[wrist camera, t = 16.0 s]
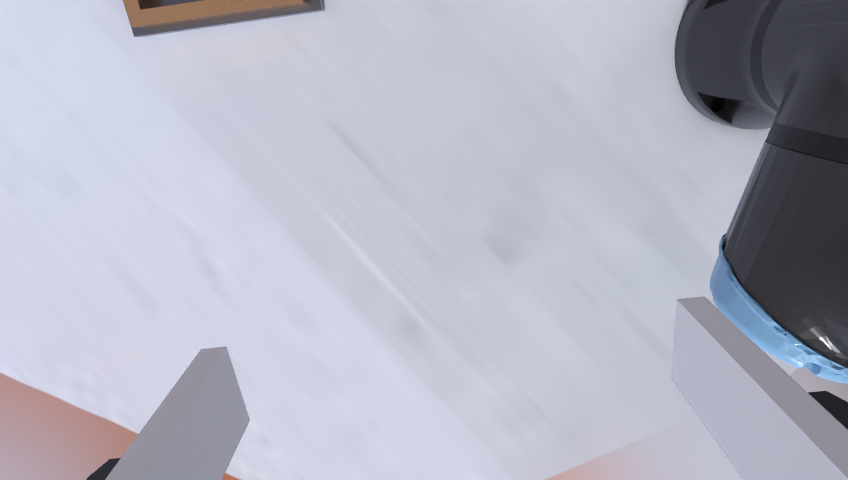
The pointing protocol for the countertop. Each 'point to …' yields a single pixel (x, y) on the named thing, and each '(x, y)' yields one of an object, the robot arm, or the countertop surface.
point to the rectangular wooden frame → (207, 13)
